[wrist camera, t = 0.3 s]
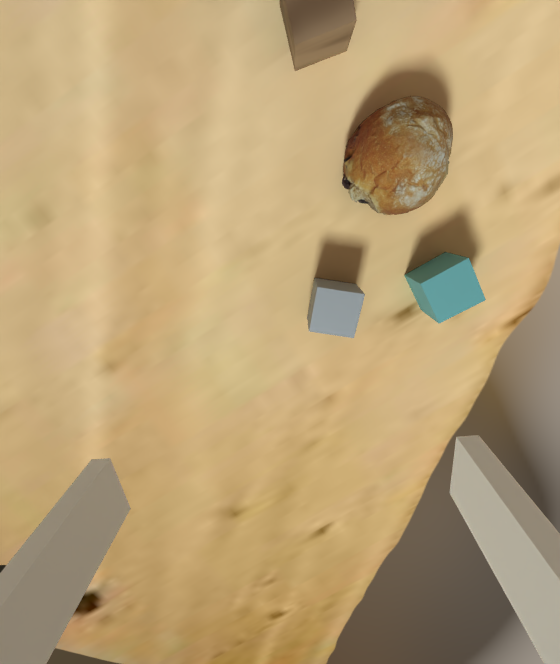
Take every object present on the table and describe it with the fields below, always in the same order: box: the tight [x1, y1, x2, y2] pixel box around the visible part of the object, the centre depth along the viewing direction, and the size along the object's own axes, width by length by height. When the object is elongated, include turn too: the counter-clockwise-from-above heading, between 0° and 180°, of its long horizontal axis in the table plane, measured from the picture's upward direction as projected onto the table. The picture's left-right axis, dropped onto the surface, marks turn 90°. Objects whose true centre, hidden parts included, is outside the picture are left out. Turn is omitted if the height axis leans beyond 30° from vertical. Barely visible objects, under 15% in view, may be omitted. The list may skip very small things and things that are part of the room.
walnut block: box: [280, 0, 356, 71], centre depth 26 cm, size 5×5×5 cm
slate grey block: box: [307, 278, 365, 338], centre depth 35 cm, size 5×5×5 cm
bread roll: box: [342, 96, 453, 215], centre depth 30 cm, size 10×10×8 cm
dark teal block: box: [405, 252, 486, 323], centre depth 34 cm, size 5×5×5 cm
